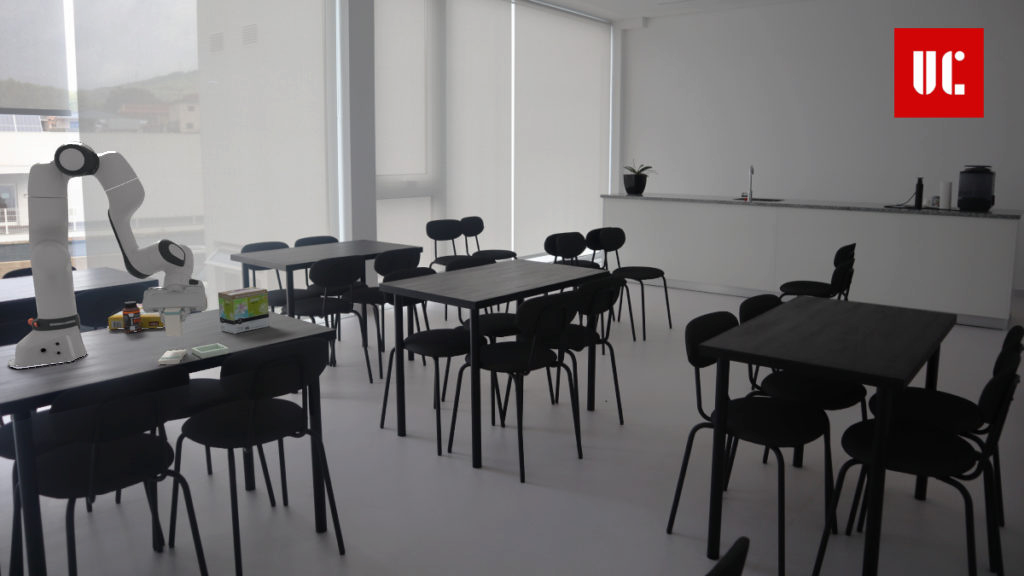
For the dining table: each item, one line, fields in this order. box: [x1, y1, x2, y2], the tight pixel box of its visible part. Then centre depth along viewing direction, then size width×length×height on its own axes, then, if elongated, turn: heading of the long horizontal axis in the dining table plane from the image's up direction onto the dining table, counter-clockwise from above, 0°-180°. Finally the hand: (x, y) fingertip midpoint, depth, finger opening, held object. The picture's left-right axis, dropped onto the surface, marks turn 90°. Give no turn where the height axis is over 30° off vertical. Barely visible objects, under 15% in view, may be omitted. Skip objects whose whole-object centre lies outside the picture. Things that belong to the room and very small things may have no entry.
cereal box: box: [107, 303, 185, 330], centre depth 307 cm, size 20×6×28 cm
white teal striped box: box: [164, 307, 184, 338], centre depth 258 cm, size 5×4×9 cm
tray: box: [191, 343, 230, 359], centre depth 257 cm, size 9×9×2 cm
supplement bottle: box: [121, 300, 143, 333], centre depth 289 cm, size 6×6×11 cm
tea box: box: [217, 286, 270, 335], centre depth 290 cm, size 15×10×15 cm, turn 143°
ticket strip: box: [157, 348, 187, 366], centre depth 251 cm, size 6×13×1 cm, turn 11°
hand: (173, 321), depth 257 cm, fingers closed on white teal striped box, 4 cm apart
